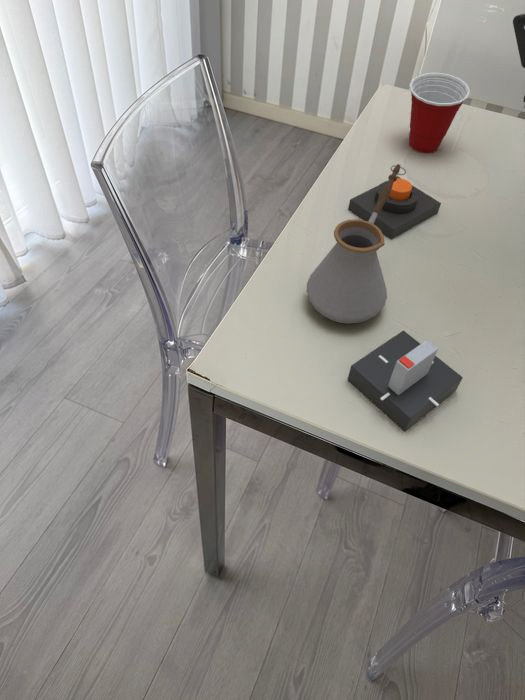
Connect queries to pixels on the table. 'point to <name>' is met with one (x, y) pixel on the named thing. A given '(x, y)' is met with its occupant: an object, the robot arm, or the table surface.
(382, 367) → the timer panel
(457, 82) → the plastic cup
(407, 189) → the power button
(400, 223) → the block
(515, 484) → the table surface
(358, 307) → the coffee pot
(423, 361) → the timer knob
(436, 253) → the table surface
